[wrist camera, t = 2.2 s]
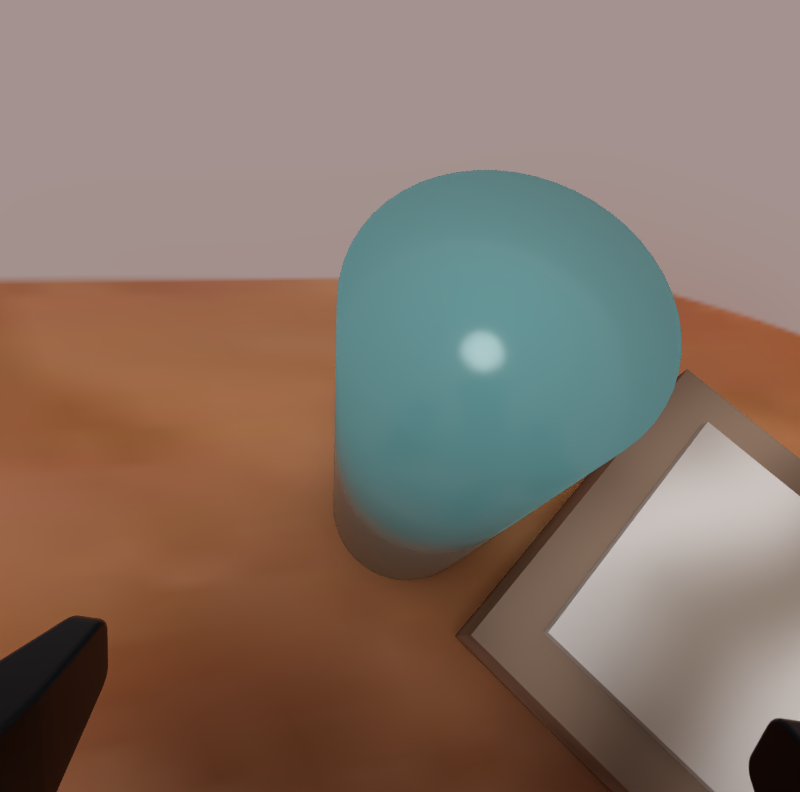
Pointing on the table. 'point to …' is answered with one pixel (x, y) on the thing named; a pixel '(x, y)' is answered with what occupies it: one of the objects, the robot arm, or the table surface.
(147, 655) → the table surface
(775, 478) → the picture frame
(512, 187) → the teal cylinder
